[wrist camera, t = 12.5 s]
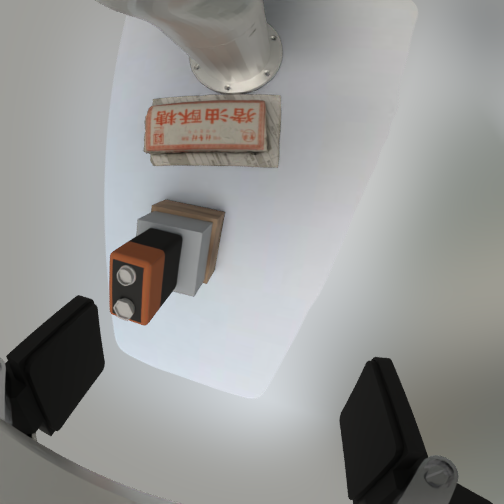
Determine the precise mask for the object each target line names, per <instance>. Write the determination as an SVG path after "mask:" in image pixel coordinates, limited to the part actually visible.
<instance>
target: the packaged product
mask: <svg viewBox="0 0 504 504" xmlns="http://www.w3.org/2000/svg"><path fill="white" fill-rule="evenodd" d="M145 118H146V120H145V130H146V132H145V137H144V142H145V143H144V152H146V153H149V154H151V159H150V161H151V163H152V164H153V166H168V165H210V166H248V167H274V168H278V162H279V137H280V125H281V95H246V94H230V95H205V96H184V97H171V98H160V99H153V106H151V107H150V108H149V110H148V113H147V116H146V117H145Z"/></svg>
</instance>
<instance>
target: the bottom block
mask: <svg viewBox="0 0 504 504" xmlns="http://www.w3.org/2000/svg"><path fill="white" fill-rule="evenodd" d="M153 211H158V212H163V213H168V214H173V215H178V216H183V217H188V218H193V219H198V220H203V221H208V222H212V223H213V225H212V231H211V238H210V244H209V251H208V258H207V265H206V272H205V279H204V281H203V283H205V284H207V282H208V281H209V279H210V277H211V276H212V274H213V272H214V270H215V265H216V259H217V253H218V248H219V242H220V237H221V231H222V226H223V220H224V215H225V212H223V211H218V210H213V209H209V208H204V207H199V206H195V205H190V204H185V203H180V202H175V201H170V200H163V201H161V202H159V203H156V204H154V205H152V209H151V212H153Z"/></svg>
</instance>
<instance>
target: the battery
mask: <svg viewBox="0 0 504 504" xmlns="http://www.w3.org/2000/svg"><path fill="white" fill-rule="evenodd" d="M181 247H182V236H181V235H178V234H174V233H170V232H166V231H162V230H158V229H154V228H149V229H148V230H146V231H144V232H143V233H141V234H140V235H138V236H136V237H135V238H133V239H132V240H130V241H128V242H127V243H125V244H124V245H122V246H121V247H119V248H118V249H116V250H115V251H113V252H112V253H111V255H110V281H109V294H110V312H111V314H113V315H116V316H117V317H118V318H120V319H123V320H126V321H128V320H130V321H133V322H135V323H138V324H141V325H147V324H148V323H149V322H150V320H151V319H152V318H153V316H154V315H155V314H156V312H157V311H158V310H159V308H160V307H161V306H162V304H163V303H164V302H165V301H166V299H167V298H168V297H169V295H170V294H171V293H172V291H173V290H174V289H175V287H176V284H177V277H178V269H179V261H180V254H181Z"/></svg>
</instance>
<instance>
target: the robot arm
mask: <svg viewBox="0 0 504 504" xmlns="http://www.w3.org/2000/svg"><path fill="white" fill-rule="evenodd" d="M95 1H97V2H99V3H100V4H102V5H104V6H106V7H108V8H110V9H112V10H115V11H118V12H120V13H123V14H126V15H129V16H132V17H136V18H139V19H142V20H145V21H147V22H149V23H151V24H152V25H154V26H155V27H157V28H158V29H159V30H161V31H162V32H163V33H164V34H166V35H167V36H168V37H169V38H170V39H171V40H172V41H173V42H174V43H175V44H177V45H178V46H179V47H180V48H181V49H182V50H183V51H184V52H185V53H187V54H188V55H189V58H190V65H191V68H192V71H193V73H194V75H195V76H196V78H197V79H198V80H199V81H200V82H201V83H202V84H203V85H205V86H206V87H207V88H209V89H211V90H213V91H215V92H218V93H221V94H228V95H230V94H245V93H249V92H252V91H255V90H257V89H259V88H260V87H262V86H264V85H265V84H266V83H268V82H269V81H270V80H271V79H272V78H273V77H274V75H275V74H276V73H277V71H278V69H279V67H280V64H281V61H282V44H281V40H280V38H279V36H278V34H277V32H276V31H275V30H274V29H273V28H272V26H271V25H269V24H268V23H267V22H266V17H265V11H264V5H263V0H95ZM272 39H275V41H272ZM198 67H200V68H199V69H198V70H197V68H198ZM267 73H268V74H269V76H266V74H267ZM227 88H230V90H229V91H228V90H227ZM6 357H7V359H8V361H7V362H6V363H4V361H3V360H2V359H1V358H0V504H181V503H178V502H174V501H171V500H167V499H164V498H161V497H158V496H154V495H151V494H148V493H145V492H142V491H139V490H137V489H134V488H131V487H128V486H126V485H123V484H121V483H118V482H116V481H113V480H111V479H108V478H106V477H104V476H102V475H99V474H97V473H95V472H93V471H90V470H88V469H86V468H84V467H82V466H80V465H78V464H76V463H74V462H72V461H70V460H68V459H66V458H64V457H62V456H61V455H59V454H57V453H55V452H53V451H52V450H50V449H48V448H47V447H45V446H43V445H41V444H39V443H38V442H37V438H36V431H37V430H38V429H40V430H41V431H43V432H44V433H46V434H48V435H50V436H52V434H53V433H54V432H55V431H58V430H60V428H61V427H62V426H63V425H64V423H65V422H66V420H67V419H68V417H69V416H70V414H71V413H72V412H73V410H74V409H75V408H76V406H77V405H78V403H79V402H80V401H81V399H82V398H83V397H84V395H85V394H86V392H87V391H88V390H89V388H90V387H91V385H92V384H93V383H94V382H95V380H96V379H97V377H98V376H99V375H100V374H101V372H102V371H103V369H104V364H105V361H104V355H103V348H102V341H101V334H100V327H99V317H98V309H97V306H96V305H95V304H94V301H93V300H92V299H89V298H86V297H83V296H79V295H78V296H76V297H75V298H73V299H72V300H71V301H70V302H69V303H67V304H66V305H65V306H64V307H62V308H61V309H60V310H59V311H58V312H56V313H55V314H54V315H53V316H52V317H51V318H49V319H48V320H47V321H46V322H44V323H43V324H42V325H41V326H40V327H39V328H37V329H36V330H35V331H34V332H33V333H32V334H30V335H29V336H28V337H27V338H26V339H25V340H24V341H22V342H21V343H20V344H19V345H18V346H17V347H16V348H15V349H13V350H12V351H11V352H10V353H9V354H8V355H7V356H6ZM340 428H341V436H342V442H343V451H344V460H345V469H346V478H347V489H348V497H349V499H350V500H353V504H493V503H491V502H490V501H488V500H487V499H484V498H483V497H481V496H479V495H477V494H475V493H474V492H472V491H470V490H468V489H467V488H465V487H463V486H461V485H460V484H458V483H457V482H458V471H457V468H456V466H455V465H454V464H453V463H452V462H451V461H450V460H449V459H447V458H445V457H442V456H436V455H435V456H430V457H428V455H427V452H426V449H425V446H424V443H423V441H422V437H421V435H420V432H419V429H418V426H417V423H416V421H415V418H414V415H413V413H412V410H411V407H410V405H409V402H408V400H407V397H406V394H405V392H404V389H403V387H402V385H401V382H400V379H399V377H398V375H397V372H396V370H395V367H394V365H393V363H392V360H391V359H389V358H379V357H374V358H373V359H372V360H371V361H368V362H367V363H366V365H365V367H364V369H363V371H362V373H361V375H360V377H359V379H358V381H357V384H356V385H355V388H354V389H353V391H352V393H351V395H350V397H349V399H348V401H347V403H346V405H345V407H344V408H343V410H342V412H341V415H340Z"/></svg>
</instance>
